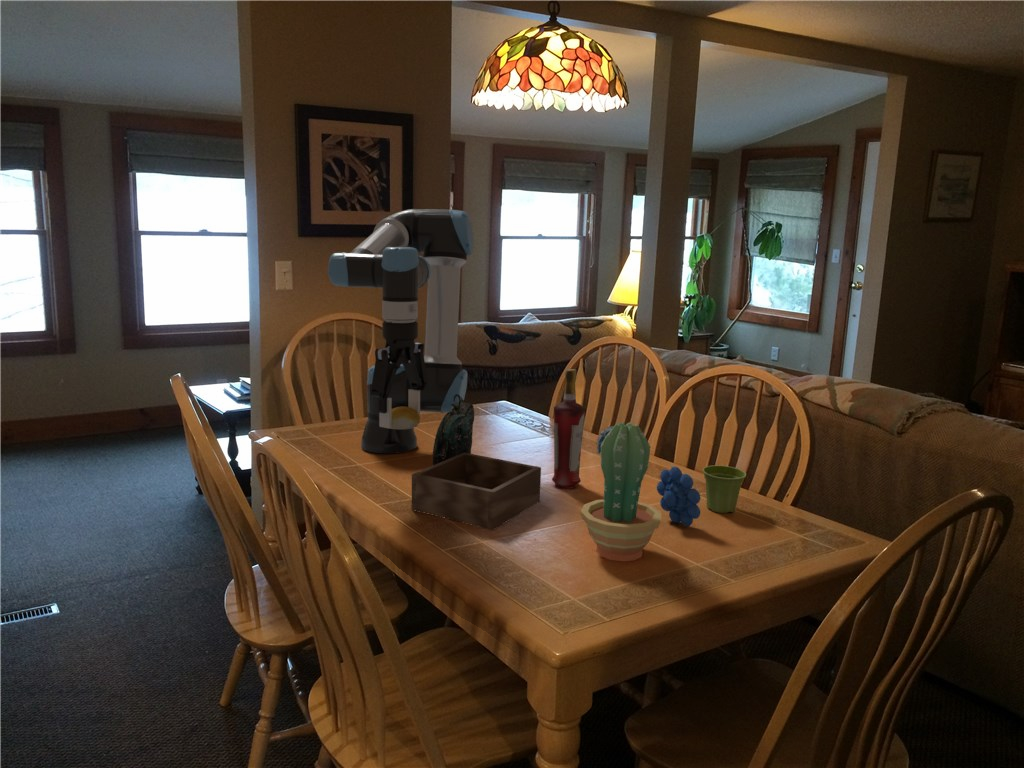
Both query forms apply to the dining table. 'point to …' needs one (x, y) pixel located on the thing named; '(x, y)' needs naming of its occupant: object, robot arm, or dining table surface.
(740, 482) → the plant pot
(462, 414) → the dark green bag
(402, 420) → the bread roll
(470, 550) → the dining table surface
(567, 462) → the liquor
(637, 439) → the potted cactus
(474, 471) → the box
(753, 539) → the dining table surface
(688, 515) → the grapes
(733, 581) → the dining table surface
